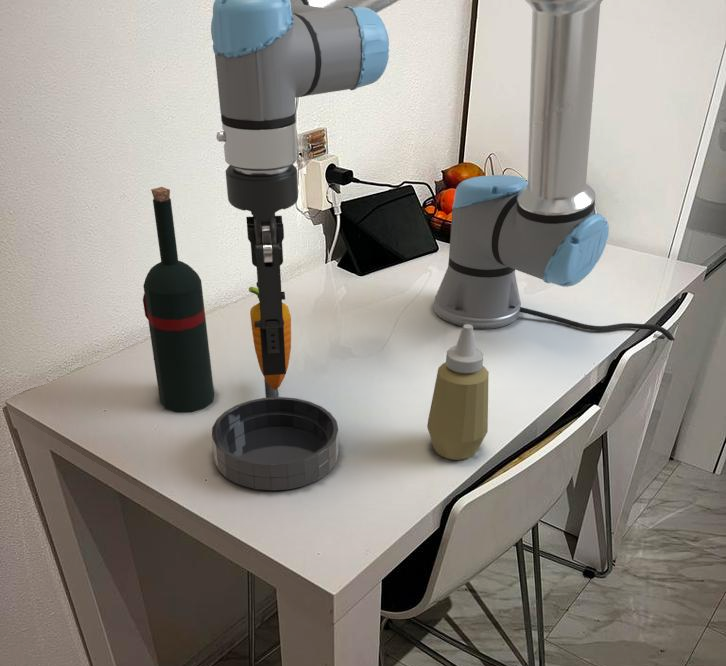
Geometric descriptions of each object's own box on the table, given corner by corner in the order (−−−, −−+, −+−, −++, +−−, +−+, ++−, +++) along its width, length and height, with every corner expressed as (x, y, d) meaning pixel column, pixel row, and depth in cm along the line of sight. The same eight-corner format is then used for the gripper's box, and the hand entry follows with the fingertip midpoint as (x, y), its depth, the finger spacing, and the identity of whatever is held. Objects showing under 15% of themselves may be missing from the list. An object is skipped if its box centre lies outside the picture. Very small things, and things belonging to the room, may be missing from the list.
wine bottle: (183, 374, 123) (156, 173, 105) (225, 398, 117) (205, 189, 100) (139, 393, 118) (104, 185, 100) (182, 418, 113) (152, 203, 95)
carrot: (288, 401, 98) (282, 285, 89) (249, 396, 98) (240, 281, 89) (299, 381, 102) (294, 268, 93) (262, 377, 102) (253, 264, 93)
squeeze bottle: (496, 448, 108) (514, 326, 98) (461, 473, 103) (476, 347, 93) (449, 426, 112) (460, 306, 102) (413, 449, 108) (421, 326, 97)
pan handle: (275, 367, 120) (274, 356, 119) (279, 409, 110) (279, 398, 109) (263, 368, 120) (262, 357, 119) (266, 410, 110) (266, 398, 109)
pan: (331, 419, 113) (331, 394, 111) (344, 487, 100) (344, 460, 98) (215, 426, 111) (212, 400, 109) (214, 496, 98) (210, 468, 96)
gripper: (225, 143, 90) (241, 331, 104) (224, 192, 76) (243, 401, 90) (291, 142, 91) (298, 328, 105) (303, 189, 77) (310, 397, 91)
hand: (273, 362), depth 98 cm, fingers closed on carrot, 5 cm apart
